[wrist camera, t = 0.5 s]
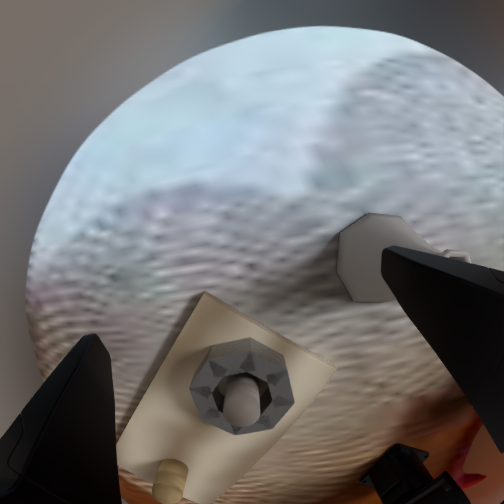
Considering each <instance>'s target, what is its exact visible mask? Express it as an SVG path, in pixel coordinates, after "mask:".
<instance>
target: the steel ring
mask: <svg viewBox="0 0 504 504" xmlns="http://www.w3.org/2000/svg"><path fill="white" fill-rule="evenodd" d="M244 372H248V373H250V374H252V375H254V376H256V377H258V378H260V379H262V380H264V381H266V382H268V385H269V386H268V388H267V389H266V390H265V392H264V393H263V394H262V395H261V397H260V398H259V399H260V417H259V419H258V420H257V422H255V423H254V424H252V425H250V426H246V427H238V426H234V425H232V424H230V423H229V422H227V421H226V419H225V418H224V415H223V408H224V401H225V395H223V394H221V392H220V389H219V387H218V383H219V382H220V380H221V379H222V377H223V376H228V375H233V374H239V373H244ZM189 390H190V393H191V396H192V398H193V401H194V403H195V406H196V408H197V411H198V413H199V416H200V418H201V420H203V421H205V422H207V423H209V424H211V425H213V426H215V427H217V428H220V429H222V430H224V431H226V432H228V433H231V434H233V435H241V434H248V433H254V432H259V431H265V430H270V429H273V428H274V427H275V426H276V424H277V423H278V422H279V421H280V420H281V419H282V418H283V416H284V415H285V414H286V413H287V412H288V410H289V409H290V408H291V407H292V406H293V404H294V403H295V401H294V397H293V393H292V388H291V384H290V379H289V375H288V370H287V366H286V363H285V359H284V355H282V354H281V353H279V352H277V351H275V350H273V349H271V348H269V347H268V346H266V345H264V344H262V343H260V342H258V341H257V340H255V339H253V338H251V337H249V338H244V339H240V340H235V341H230V342H225V343H220V344H215V345H212V346H211V348H210V350H209V351H208V353H207V354H206V356H205V357H204V359H203V360H202V362H201V363H200V365H199V367H198V368H197V370H196V371H195V373H194V375H193V378H192V381H191V384H190V387H189Z"/></svg>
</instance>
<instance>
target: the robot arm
mask: <svg viewBox="0 0 504 504" xmlns="http://www.w3.org/2000/svg"><path fill="white" fill-rule="evenodd" d="M381 275H382V278H383V279H384V281H385V282H386V284H387V285H388V287H389V289H390V290H391V292H392V293H393V295H394V296H395V298H396V299H397V301H398V303H399V304H400V306H401V307H402V309H403V310H404V312H405V313H406V314H407V316H408V317H409V318H410V320H411V321H412V322H413V324H414V325H415V326H416V327H417V329H418V330H419V331H420V333H421V334H422V335H423V337H424V338H425V339H426V341H427V342H428V343H429V345H430V346H431V347H432V349H433V350H434V351H435V353H436V354H437V356H438V357H439V358H440V360H441V361H442V363H443V364H444V365H445V367H446V368H447V370H448V371H449V372H450V374H451V375H452V377H453V378H454V380H455V381H456V383H457V384H458V385H459V387H460V388H461V390H462V391H463V393H464V394H465V396H466V397H467V399H468V400H469V402H470V404H471V405H472V406H473V408H474V410H475V412H476V413H477V415H478V416H479V418H480V419H481V421H482V423H483V424H484V426H485V427H486V429H487V431H488V432H489V434H490V436H491V438H492V439H493V441H494V443H495V444H496V446H497V448H498V449H499V451H500V452H501V453H504V271H500V270H496V269H492V268H487V267H484V266H480V265H476V264H472V263H468V262H464V261H460V260H456V259H452V258H448V257H443V256H439V255H435V254H431V253H426V252H422V251H418V250H413V249H409V248H404V247H400V246H395V245H392V246H389V247H386V248H384V249H383V250H382V254H381ZM428 457H429V453H428V452H427V451H423V450H419V449H416V448H412V447H409V446H406V445H402V444H396V445H395V446H394V447H393V448H392V449H391V450H390V451H389V452H388V453H387V454H386V455H385V456H384V457H383V458H382V459H381V460H380V461H379V462H378V463H377V464H376V465H375V466H374V467H373V468H372V469H371V470H370V471H369V472H367V473H366V474H365V475H364V476H363V477H362V478H361V479H360V480H359V481H360V484H362V485H368V486H373V487H375V490H376V492H377V494H378V496H379V497H380V499H381V501H382V503H383V504H471V503H470V501H469V499H468V498H467V496H466V495H465V494H464V492H463V490H462V489H461V488H460V487H459V486H458V484H457V483H456V482H455V481H454V480H453V478H452V477H451V476H450V475H449V474H448V473H447V471H444V472H443V473H442V474H441V475H440V476H439V477H437V478H436V479H433V477H432V476H431V474H430V473H429V471H428V470H427V468H426V467H425V466H424V464H423V462H424V461H425V460H426V459H427V458H428ZM0 504H122V501H121V494H120V485H119V475H118V464H117V450H116V431H115V400H114V390H113V381H112V369H111V358H110V355H109V353H108V351H107V349H106V348H105V346H104V345H103V343H102V341H101V340H100V338H99V337H98V335H97V334H94V333H93V334H88V335H84V336H83V337H82V338H81V339H80V340H79V341H78V342H77V344H76V345H75V346H74V347H73V348H72V349H71V351H70V352H69V353H68V354H67V355H66V356H65V358H64V359H63V360H62V361H61V362H60V364H59V365H58V366H57V367H56V368H55V370H54V371H53V372H52V373H51V375H50V376H49V377H48V378H47V379H46V381H45V382H44V383H43V384H42V386H41V387H40V388H39V390H38V391H37V392H36V393H35V395H34V396H33V397H32V398H31V400H30V401H29V402H28V404H27V405H26V406H25V407H24V409H23V410H22V411H21V414H19V415H18V417H17V418H16V419H15V421H14V422H13V423H12V425H11V426H10V427H9V429H8V430H7V431H6V433H5V434H4V435H3V436H2V437H1V439H0ZM500 504H504V501H503V502H502V503H500Z"/></svg>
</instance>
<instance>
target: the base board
mask: <svg viewBox="0 0 504 504" xmlns="http://www.w3.org/2000/svg"><path fill="white" fill-rule="evenodd" d="M249 337H251V338H253V339H255V340H257V341H258V342H260V343H262V344H264V345H266V346H268V347H269V348H271V349H273V350H275V351H277V352H279V353H281V354H282V355H284V359H285V363H286V366H287V370H288V375H289V379H290V384H291V388H292V393H293V397H294V401H295V403H294V404H293V406H292V407H291V408H290V409H289V410H288V412H287V413H286V414H285V415H284V416H283V418H282V419H281V420H280V421H279V422H278V423H277V424H276V426H275V427H274V428H273V429H270V430H265V431H259V432H254V433H248V434H241V435H233V434H231V433H228V432H226V431H224V430H222V429H220V428H217V427H215V426H213V425H211V424H209V423H207V422H205V421H203V420H201V418H200V416H199V413H198V411H197V408H196V406H195V403H194V401H193V398H192V396H191V393H190V390H189V387H190V384H191V381H192V378H193V375H194V373H195V371H196V370H197V368H198V367H199V365H200V363H201V362H202V360H203V359H204V357H205V356H206V354H207V353H208V351H209V350H210V348H211V346H212V345H215V344H220V343H225V342H230V341H235V340H240V339H244V338H249ZM337 370H338V369H337V367H336V366H335V364H334V363H332V362H330V361H328V360H326V359H324V358H322V357H320V356H318V355H316V354H315V353H313V352H311V351H309V350H307V349H305V348H303V347H302V346H300V345H298V344H296V343H294V342H292V341H291V340H289V339H287V338H285V337H283V336H281V335H280V334H278V333H276V332H274V331H273V330H271V329H269V328H267V327H265V326H264V325H262V324H260V323H258V322H257V321H255V320H253V319H252V318H250V317H248V316H246V315H245V314H243V313H241V312H240V311H238V310H236V309H234V308H233V307H231V306H229V305H228V304H226V303H224V302H223V301H221V300H219V299H218V298H216V297H214V296H213V295H211V294H209V293H208V292H206V291H205V292H204V294H203V296H202V297H201V299H200V301H199V302H198V304H197V306H196V307H195V309H194V311H193V312H192V314H191V316H190V317H189V319H188V321H187V322H186V324H185V326H184V328H183V329H182V331H181V333H180V334H179V336H178V338H177V339H176V341H175V343H174V344H173V346H172V348H171V350H170V351H169V353H168V355H167V356H166V358H165V360H164V362H163V363H162V365H161V367H160V368H159V370H158V372H157V374H156V375H155V377H154V379H153V381H152V382H151V384H150V386H149V387H148V389H147V391H146V393H145V394H144V396H143V398H142V400H141V401H140V403H139V405H138V407H137V408H136V410H135V412H134V414H133V416H132V417H131V419H130V421H129V423H128V424H127V426H126V428H125V430H124V431H123V433H122V435H121V437H120V439H119V440H118V442H117V444H116V450H117V464H118V466H120V467H122V468H123V469H125V470H127V471H129V472H131V473H132V474H134V475H136V476H138V477H140V478H142V479H144V480H146V481H148V482H150V483H152V484H153V487H152V493H153V496H154V498H155V499H156V500H157V501H159V502H160V503H162V504H176V503H178V502H179V501H180V500H181V499H182V497H184V498H186V499H189V500H191V501H194V502H196V503H199V504H212V503H213V502H214V501H216V500H217V499H218V498H219V497H220V496H221V495H222V494H224V493H225V492H226V491H227V490H228V489H229V488H230V487H231V486H233V485H234V484H235V483H236V482H237V481H238V480H239V479H240V478H241V477H242V476H243V475H244V474H245V473H246V472H248V471H249V470H250V469H251V468H252V467H253V466H254V465H255V464H256V463H257V462H258V461H259V460H260V459H261V458H262V457H263V456H264V455H265V454H266V453H267V452H268V451H269V450H270V448H271V447H272V446H273V445H274V444H275V443H276V442H277V441H278V440H279V439H280V438H281V437H282V436H283V435H284V434H285V432H286V431H287V430H288V429H289V428H290V427H291V426H292V425H293V424H294V422H295V421H296V420H297V419H298V418H299V417H300V416H301V414H302V413H303V412H304V411H305V410H306V408H307V407H308V406H309V405H310V404H311V403H312V401H313V400H314V399H315V398H316V396H317V395H318V394H319V393H320V392H321V390H322V389H323V388H324V386H325V385H326V384H327V383H328V381H329V380H330V379H331V378H332V376H333V375H334V374H335V372H336V371H337ZM268 386H269V385H268V382H266V381H264V380H262V379H260V378H258V377H256V376H254V375H252V374H250V373H248V372H244V373H239V374H233V375H228V376H223V377H222V379H221V380H220V382H219V383H218V387H219V389H220V392H221V394H223V395H225V401H224V408H223V415H224V418H225V419H226V421H227V422H229V423H230V424H232V425H234V426H238V427H246V426H250V425H252V424H254V423H255V422H257V420H258V419H259V417H260V399H259V398H260V397H261V395H262V394H263V393H264V392H265V390H266V389H267V388H268Z"/></svg>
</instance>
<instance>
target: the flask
mask: <svg viewBox="0 0 504 504" xmlns="http://www.w3.org/2000/svg"><path fill="white" fill-rule="evenodd" d="M392 245H395V246H400V247H404V248H409V249H413V250H418V251H422V252H426V253H431V254H435V255H439V256H443V257H448V258H452V259H456V260H460V261H464V262H468V263H472V262H471V259H470V257H469V254H468V252H467V251H459V250H448V249H447V250H445V251H444V252H441V251H440V250H438V249H436V248H434V247H432V246H430V245H429V244H428V243H427V242H426V241H425V240H424V239H423V238H422V237H421V236H420V235H419V234H418V233H416V232H415V231H414V229H413V228H412V227H411V226H410V225H409V224H408V223H407V222H406V221H405V220H404V219H403V218H402V217H401V216H393V215H385V214H376V213H368V214H367V215H365V216H364V217H362V218H361V219H359V220H358V221H357V222H355V223H354V224H352V225H351V226H349V227H348V228H346V229H345V230H343V231H342V232H341V233H340V237H339V249H338V261H337V273H338V275H339V276H340V278H341V280H342V282H343V283H344V285H345V287H346V288H347V290H348V292H349V294H350V295H351V297H352V299H353V301H354V302H389V301H394V300H397V299H396V298H395V296H394V295H393V293H392V292H391V290H390V289H389V287H388V285H387V284H386V282H385V281H384V279H383V278H382V275H381V254H382V250H383V249H384V248H386V247H389V246H392Z"/></svg>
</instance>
